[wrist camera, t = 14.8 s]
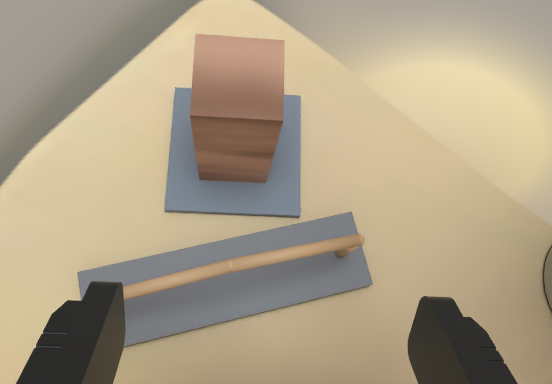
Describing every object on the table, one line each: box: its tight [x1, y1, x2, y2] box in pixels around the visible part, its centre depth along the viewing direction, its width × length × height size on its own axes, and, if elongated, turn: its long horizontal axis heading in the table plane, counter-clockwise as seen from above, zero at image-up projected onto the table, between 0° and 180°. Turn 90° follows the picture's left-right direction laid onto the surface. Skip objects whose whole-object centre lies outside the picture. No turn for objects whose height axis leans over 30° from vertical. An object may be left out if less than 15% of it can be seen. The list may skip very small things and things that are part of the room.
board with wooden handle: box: [77, 212, 373, 347], centre depth 28 cm, size 5×18×7 cm, turn 104°
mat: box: [165, 87, 300, 217], centre depth 34 cm, size 9×9×1 cm
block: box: [190, 34, 284, 183], centre depth 29 cm, size 4×4×10 cm
